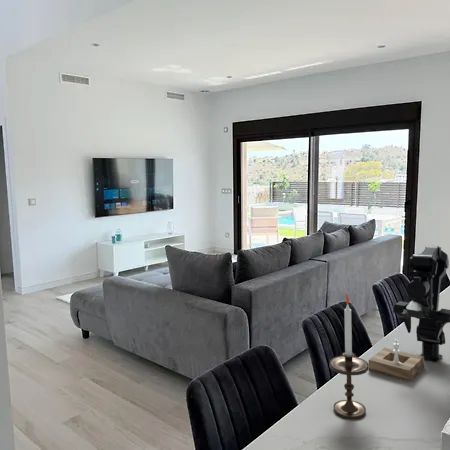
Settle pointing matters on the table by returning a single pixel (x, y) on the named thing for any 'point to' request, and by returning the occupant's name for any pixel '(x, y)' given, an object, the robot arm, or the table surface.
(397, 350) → the chess piece
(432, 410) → the table surface
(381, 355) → the tan wooden square block
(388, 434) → the table surface
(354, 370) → the candlestick
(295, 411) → the table surface
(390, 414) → the table surface
